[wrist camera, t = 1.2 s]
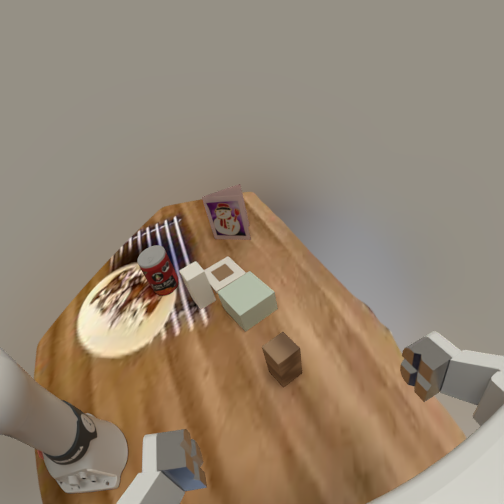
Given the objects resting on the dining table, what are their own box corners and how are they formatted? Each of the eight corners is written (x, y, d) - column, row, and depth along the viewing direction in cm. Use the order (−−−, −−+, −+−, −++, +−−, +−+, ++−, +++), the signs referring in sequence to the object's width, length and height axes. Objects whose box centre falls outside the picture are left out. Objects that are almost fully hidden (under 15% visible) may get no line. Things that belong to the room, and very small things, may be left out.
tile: (217, 293, 71) (215, 290, 70) (201, 274, 77) (199, 271, 77) (246, 275, 74) (245, 272, 73) (228, 258, 80) (227, 255, 80)
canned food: (154, 299, 73) (136, 270, 66) (153, 280, 79) (137, 251, 72) (180, 291, 74) (165, 260, 67) (177, 271, 80) (163, 241, 73)
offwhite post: (200, 309, 68) (187, 281, 62) (192, 299, 71) (179, 270, 65) (216, 300, 69) (204, 271, 63) (207, 290, 73) (195, 261, 66)
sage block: (245, 332, 61) (239, 315, 57) (223, 308, 67) (217, 291, 63) (277, 309, 64) (274, 292, 61) (254, 288, 71) (249, 271, 67)
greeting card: (214, 240, 88) (200, 198, 78) (221, 226, 93) (210, 185, 83) (250, 241, 84) (239, 197, 75) (255, 226, 90) (247, 183, 80)
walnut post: (283, 387, 50) (278, 364, 43) (269, 371, 53) (261, 346, 46) (301, 373, 51) (300, 348, 45) (287, 358, 54) (282, 331, 48)
